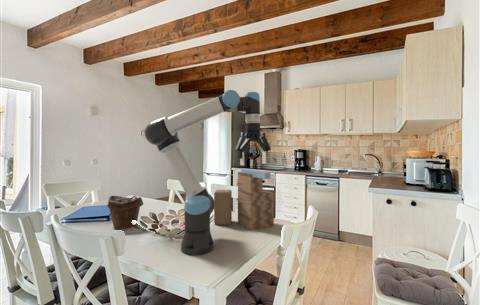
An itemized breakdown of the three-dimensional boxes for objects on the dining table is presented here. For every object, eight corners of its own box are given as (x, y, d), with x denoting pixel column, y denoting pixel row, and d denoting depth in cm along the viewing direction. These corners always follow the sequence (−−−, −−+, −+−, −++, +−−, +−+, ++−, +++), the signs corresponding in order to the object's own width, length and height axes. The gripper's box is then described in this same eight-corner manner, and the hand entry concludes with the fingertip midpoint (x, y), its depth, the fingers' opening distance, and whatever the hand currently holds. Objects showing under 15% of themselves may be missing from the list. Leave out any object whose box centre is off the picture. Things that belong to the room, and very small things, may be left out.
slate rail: (265, 179, 132) (265, 172, 132) (241, 174, 155) (241, 168, 155) (270, 178, 134) (270, 172, 134) (245, 174, 156) (245, 168, 156)
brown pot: (148, 224, 149) (147, 195, 149) (112, 232, 136) (111, 200, 136) (137, 218, 163) (137, 191, 162) (103, 225, 149) (103, 196, 149)
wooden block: (216, 220, 159) (216, 189, 158) (231, 220, 158) (231, 189, 158) (213, 225, 149) (213, 192, 148) (230, 225, 149) (230, 192, 148)
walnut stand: (250, 229, 140) (250, 174, 140) (237, 222, 154) (237, 172, 154) (273, 225, 148) (273, 173, 147) (259, 218, 162) (259, 171, 161)
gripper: (235, 121, 117) (236, 166, 118) (276, 123, 130) (277, 163, 130) (227, 123, 124) (228, 165, 124) (268, 124, 136) (268, 162, 137)
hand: (253, 164), depth 127 cm, fingers open, 13 cm apart
